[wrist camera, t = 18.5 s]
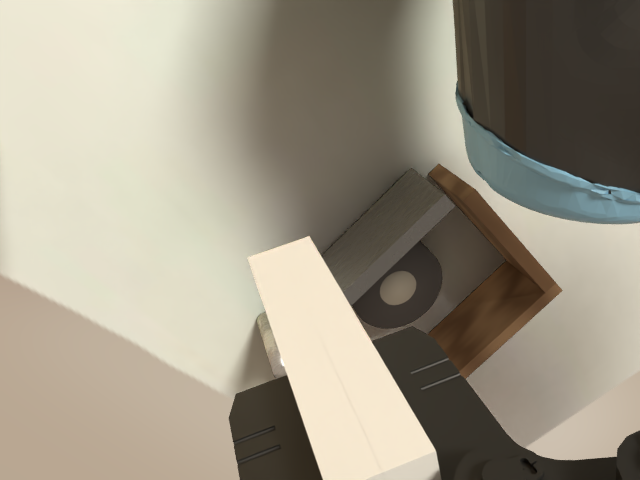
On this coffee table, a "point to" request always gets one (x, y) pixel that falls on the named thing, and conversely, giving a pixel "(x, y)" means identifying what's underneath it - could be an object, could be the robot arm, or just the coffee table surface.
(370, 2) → the coffee table surface
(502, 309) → the bay
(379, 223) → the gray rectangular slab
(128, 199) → the coffee table surface
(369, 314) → the coil
